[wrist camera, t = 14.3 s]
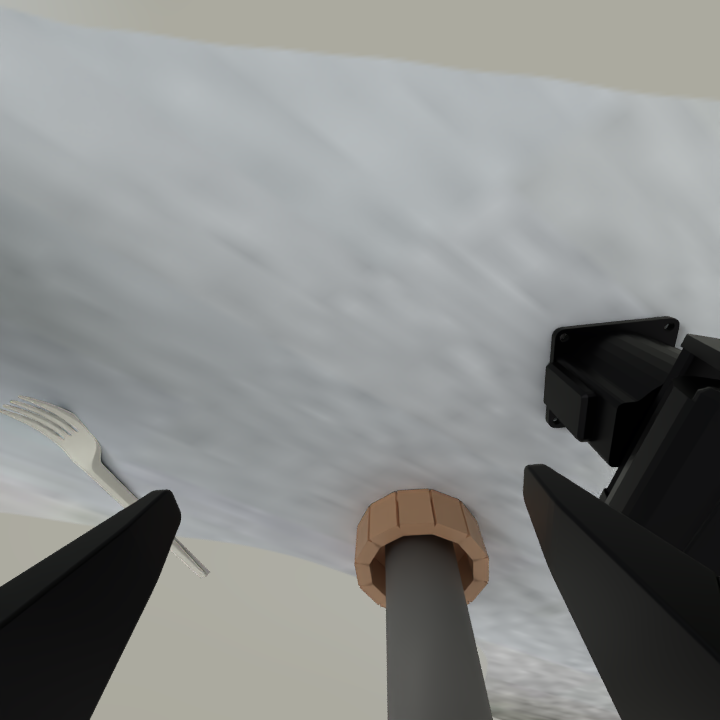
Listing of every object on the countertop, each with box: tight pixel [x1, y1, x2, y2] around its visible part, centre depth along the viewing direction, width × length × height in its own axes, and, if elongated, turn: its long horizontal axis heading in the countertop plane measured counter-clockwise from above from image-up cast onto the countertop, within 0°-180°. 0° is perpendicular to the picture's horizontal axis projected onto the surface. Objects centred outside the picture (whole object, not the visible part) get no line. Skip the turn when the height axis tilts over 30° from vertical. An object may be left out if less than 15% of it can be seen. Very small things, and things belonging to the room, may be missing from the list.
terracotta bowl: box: [355, 489, 489, 608], centre depth 25 cm, size 9×9×3 cm
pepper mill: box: [385, 534, 493, 720], centre depth 20 cm, size 5×5×13 cm
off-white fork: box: [0, 396, 210, 578], centre depth 26 cm, size 3×20×2 cm, turn 27°
